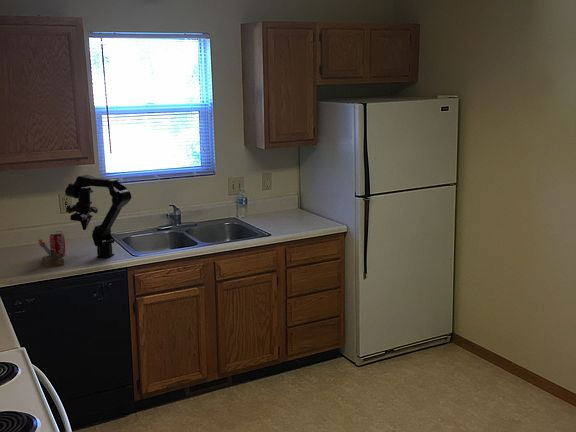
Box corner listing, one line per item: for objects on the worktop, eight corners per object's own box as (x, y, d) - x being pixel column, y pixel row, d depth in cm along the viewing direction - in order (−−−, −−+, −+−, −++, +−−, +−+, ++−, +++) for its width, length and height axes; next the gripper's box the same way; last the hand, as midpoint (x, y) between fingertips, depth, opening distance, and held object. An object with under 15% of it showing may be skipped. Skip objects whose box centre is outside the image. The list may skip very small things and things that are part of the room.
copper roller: (53, 253, 311) (41, 238, 307) (55, 256, 306) (43, 240, 302) (49, 256, 311) (36, 241, 307) (51, 259, 306) (38, 243, 302)
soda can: (67, 253, 327) (65, 230, 324) (63, 257, 320) (61, 234, 317) (53, 254, 327) (51, 231, 324) (49, 257, 320) (47, 234, 317)
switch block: (60, 259, 316) (59, 248, 314) (64, 264, 307) (63, 252, 306) (43, 262, 312) (42, 250, 311) (46, 267, 303) (45, 255, 302)
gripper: (77, 194, 331) (78, 223, 335) (59, 202, 313) (60, 233, 317) (98, 196, 329) (98, 225, 333) (81, 205, 311) (81, 235, 315)
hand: (84, 229), depth 325 cm, fingers closed
